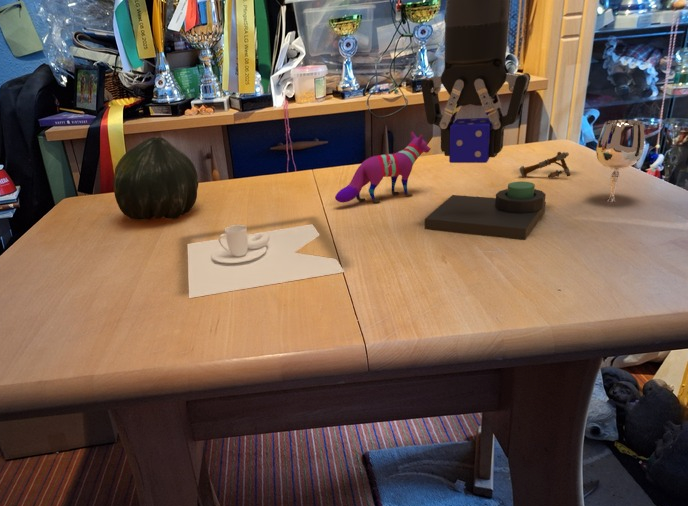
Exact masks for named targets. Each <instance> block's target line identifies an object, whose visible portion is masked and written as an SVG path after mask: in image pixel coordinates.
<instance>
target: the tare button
mask: <svg viewBox="0 0 688 506" xmlns="http://www.w3.org/2000/svg"><path fill="white" fill-rule="evenodd" d="M535 187H536V184H535V183H533V182H532V181H531V182H530V181H521V180H520V181H513V182H512V181H511V182H509V183H508V184H507V189H508V191H507V197H510V198H518V199H525V198H531V197H534V189H536V188H535Z"/></svg>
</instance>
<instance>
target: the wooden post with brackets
mask: <svg viewBox="0 0 688 506" xmlns="http://www.w3.org/2000/svg"><path fill="white" fill-rule="evenodd" d="M569 155H570V154H569V152H568V151H567V152H565V151H563V152H561V151H558V152H557V153H556V155H555V156H553V157H551V158H547V159H544V160H542V161H540V162H538V163H536V164H533V165H530V166H529V165H528V166H524V165H521V166H520V167H519V172H520V174H521V177H522V179H524V178H526V176H527V175H528V174H530V173H533V172H535V171H537V170H538V169H542V168H546V167H548V166H551V164H555V165H558V166H560V167H562V169H563V170H558V169H556V170H555V171H551V172H550V173H549V174H548V175H547V178H549V179H554V178H556V177H557V178H559V176H560V175H562V174H563V173H564V174H565V175H566V177H571V174H572V173H571V172H570V168H569V166H568V165H567V163H566V160H565V159H566V158H567V157H569Z"/></svg>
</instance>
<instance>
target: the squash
mask: <svg viewBox="0 0 688 506" xmlns="http://www.w3.org/2000/svg"><path fill="white" fill-rule="evenodd" d="M112 184H113V185H112V186H113V187H112V188H113V192H114V193H113V194H114V198H115V201H116V204H117V206H118V208H119V210H120V212H121V213H122V214H123V215H124V216H125V217H127V218H129V219H131V220H134V221H143V220H145V221H146V220H147V221H149V220H152V219H156V220H161V219H163V218H165V219H166V220H176V219H179V218H180V217H181V216H185V215H186V214H188V213H189V212H190V211H191V210H192V209H193V207H194V205H195V204H196V202H197V198H198V189H199V176H198V171H197V169H196V166H195V165H194V163H193V161H192V160H191V158H190V157H189V156H187V155H186V154H185V153H184V152H182V151H181V150H180V149H179V148H177V147H176V146H175V145H173V144H172V143H171V142H170V141H168V139H167V140H166V139H165V138H163V137H162V136H153V137H149V138H148V139H146V140H143V141H142V142H140V143H139V144H137V145H136V146H134V147H132V148H131V149H129V150H128V151H126V152H125V153H124V154H123V156H121V158H120V159H119V160H118V162H117V164H116V166H115V168H114V174H113V179H112Z"/></svg>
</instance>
